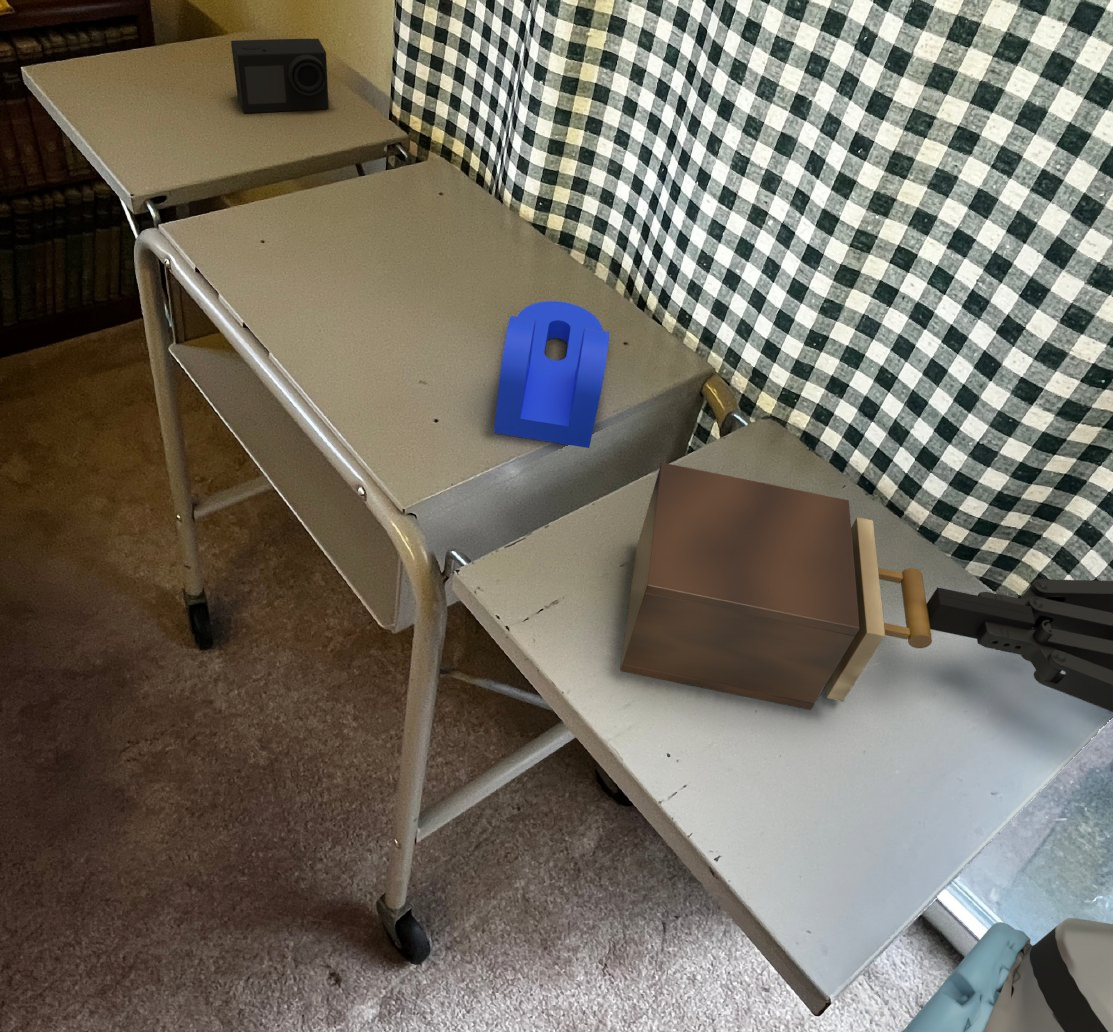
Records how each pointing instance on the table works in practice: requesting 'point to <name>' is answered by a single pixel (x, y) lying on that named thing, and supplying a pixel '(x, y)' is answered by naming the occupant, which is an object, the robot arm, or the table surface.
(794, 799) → the table surface
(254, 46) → the digital camera
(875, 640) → the drawer
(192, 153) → the table surface
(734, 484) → the cabinet
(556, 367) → the bracket
